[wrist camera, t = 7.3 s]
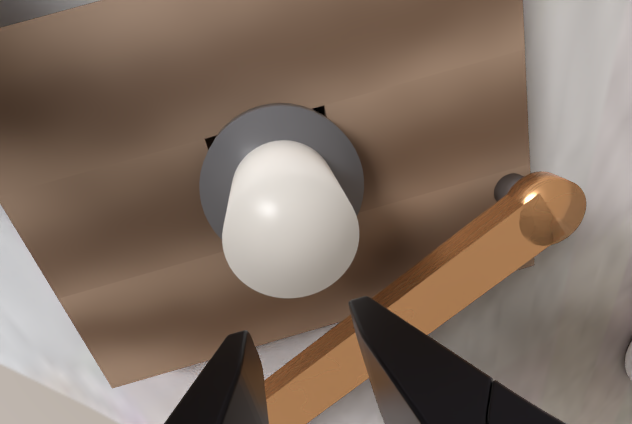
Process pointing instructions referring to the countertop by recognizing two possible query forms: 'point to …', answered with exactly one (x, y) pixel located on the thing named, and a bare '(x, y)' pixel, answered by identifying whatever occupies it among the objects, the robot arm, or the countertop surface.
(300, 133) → the plug
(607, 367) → the countertop surface
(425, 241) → the socket block
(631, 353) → the supplement bottle
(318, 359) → the orange wooden strip
